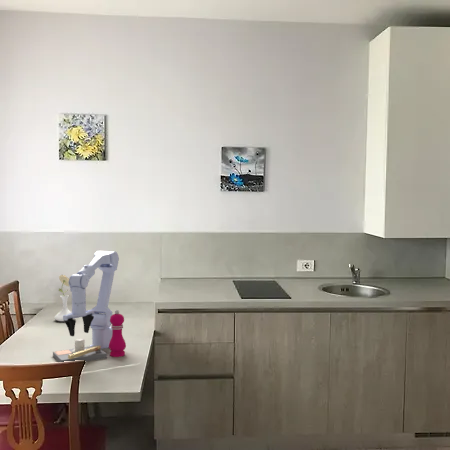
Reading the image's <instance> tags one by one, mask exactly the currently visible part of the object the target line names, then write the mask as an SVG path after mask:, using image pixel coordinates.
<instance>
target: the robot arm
mask: <svg viewBox="0 0 450 450" xmlns="http://www.w3.org/2000/svg"><path fill="white" fill-rule="evenodd" d="M119 260H120V258H119V254H118V251H115V250H113V251H110V250H109V251H108V250H96V252H94V254H93V259H92V260H91V261H90V262H89V263H88V264H84V265H83V266H82V268H80V270H78V271H77V272H76V273H73V274H71V275H70V276H69V282H68V283H69V286H68V287H69V289H70V290H69V291H70V292H71V312H72V313H69V314H67V315H63V320H64V321H63V322H64V324H65V325H66V327H67V329H68V333H69V336H70V337H75V333H76V332H75V331H76V330H75V329H76V328H75V327H76V323H77V321H76V320H75V319H78V318H82V322H83V323H82V324H83V333H86V334H88V333H89V332H90V329H91V334H92V336H91V343H92V344H90V345H89V346H88V347H90V346H97V345H100V346H101V350H103V349H107V348H108V349H109V343H110V340H111V338H112V333H113V331H112V329H111V325H112V324H111V322H110V317H111V316H112V315H113V311H112V310H111V308H109V303H110V297H111V292H112V286H113V282H114V275H115V273H116V271H117V270H118V266H119ZM97 269H98V270H100V271H102V277H101V281H100V287H99V291H98V297H97V301H96V305H95V306H94V307H92V308H91V309H88V310H87V298H86V296H87V295H86V294H87V293H86V291H87V290H86V288H87V287H88V285H89V282H90V279H92V277H93V276H94V275H95V273H96V272H95V271H96V270H97ZM74 318H75V319H74Z"/></svg>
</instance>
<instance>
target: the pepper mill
mask: <svg viewBox="0 0 450 450" xmlns="http://www.w3.org/2000/svg"><path fill="white" fill-rule="evenodd" d="M110 322H111V326H110V327H111V329H112V331H113V333H112V338H111V340H110V343H109V348H108V349H109V350H110V352H109V355H110V357H112V358H120V357H124V356H125V354H126V351H125V349H126V347H127V345H126V344H127V343H126V340H125V339H124V336H123V329H124V325H123V323H124V322H125V317H124V315H123V314H121V313H120V311H119V310H118V309H116V310H115V311H114V314H113V313H112V316H111V317H110Z"/></svg>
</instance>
